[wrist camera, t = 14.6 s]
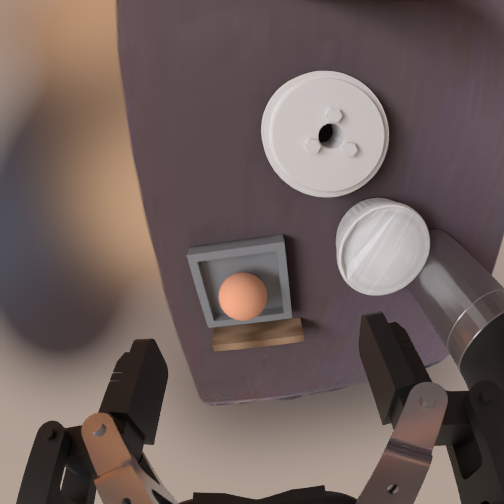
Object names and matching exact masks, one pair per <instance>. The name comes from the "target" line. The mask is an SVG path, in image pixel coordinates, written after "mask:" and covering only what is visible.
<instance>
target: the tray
mask: <svg viewBox="0 0 504 504" xmlns="http://www.w3.org/2000/svg"><path fill="white" fill-rule="evenodd" d="M187 258H188V262H189V265H190V269H191V272H192V276H193V279H194V283H195V286H196V289H197V293H198V296H199V299H200V303H201V306H202V309H203V312H204V316H205V319H206V322H207V325H208V328H211V327H221V326H231V325H240V324H249V323H258V322H266V321H274V320H281V319H289V318H292V311H291V300H290V290H289V281H288V271H287V262H286V252H285V243H284V238H283V234H280V235H272V236H265V237H258V238H250V239H243V240H236V241H229V242H222V243H215V244H208V245H201V246H194V247H189V250H188V253H187ZM241 272H245V273H250V274H253V275H255V276H256V277H258V278H259V279H260V280H261V281H262V282H263V284H264V286H265V288H266V291H267V302H266V305H265V308H264V309H263V311H262V312H261V313H260V314H259V315H258V316H257V317H255V318H253V319H251V320H246V321H239V320H235V319H233V318H231V317H229V316H228V315H227V314H226V313H225V312H224V311H223V310H222V308H221V306H220V303H219V290H220V287H221V285H222V283H223V282H224V281H225V280H226V279H227V278H228V277H229V276H231V275H233V274H236V273H241Z"/></svg>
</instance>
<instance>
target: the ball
mask: <svg viewBox="0 0 504 504" xmlns="http://www.w3.org/2000/svg"><path fill="white" fill-rule="evenodd" d="M266 302H267V291H266V288H265V286H264V284H263V282H262V281H261V280H260V279H259V278H258V277H256V276H255V275H253V274H250V273H245V272H241V273H236V274H233V275H231V276H229V277H228V278H227V279H226V280H225V281H224V282H223V283H222V285H221V287H220V290H219V303H220V306H221V308H222V310H223V311H224V312H225V313H226V314H227V315H228V316H229V317H231V318H233V319H235V320H239V321H246V320H251V319H253V318H255V317H257V316H258V315H259V314H260V313H261V312H262V311H263V309H264V308H265V305H266Z"/></svg>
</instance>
